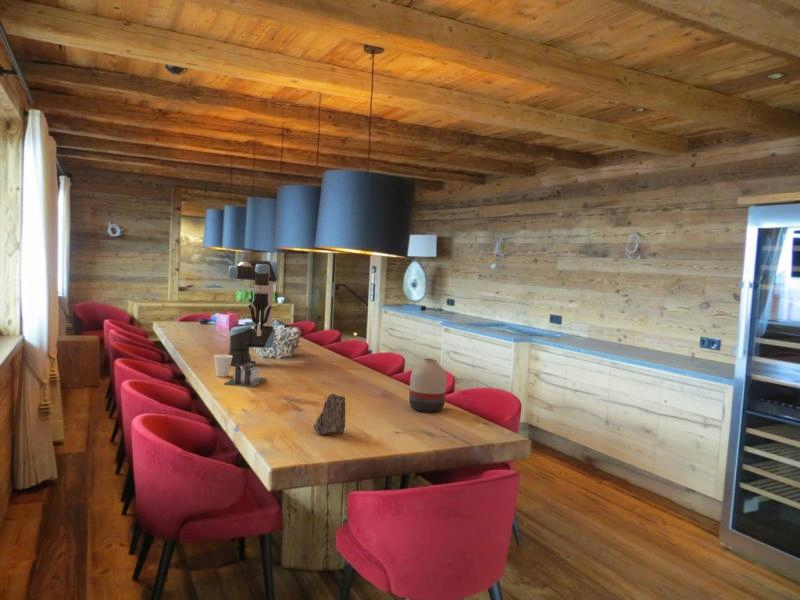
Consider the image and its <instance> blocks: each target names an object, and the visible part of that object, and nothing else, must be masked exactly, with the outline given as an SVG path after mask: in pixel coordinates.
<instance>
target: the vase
mask: <svg viewBox="0 0 800 600" xmlns="http://www.w3.org/2000/svg"><path fill="white" fill-rule="evenodd" d="M409 379H410V380H409V393H408V395H409V397H408V398H409V399H408V400H409V401H408V402H409V404H410V407H411V408H412V409H413V410H415V411H418V412H423V413H436V412H437V413H438V412H440V411H441V410H443V408H444V406H445V403H446V402H445V401H446V392H447V380H448V379H447V373H446V371H445V369H444V368H443V367H442V366H441V365H440V364H439V363H438V361H437V359H435V358H423V359H422V361H421V362H420V363H419V364H416V366H414V367H413V369H412V371H411V373H410V378H409Z"/></svg>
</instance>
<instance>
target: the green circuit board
mask: <svg viewBox="0 0 800 600" xmlns="http://www.w3.org/2000/svg"><path fill="white" fill-rule="evenodd" d="M250 363H254V365H253V366H251V367H249V365H246V366H245V370H239V367H242V366H243V365H242V366H240V365H239V364H237V365H236V366H235V367H234V369H233V370H234V371H233V377H232V379H230V380H227V381H225V382H224V383H223V385H224V386H235V385H236V387H238V386H239V387H246V386H247V387H248V388H256V387H257V385H258V386H259V385H260V384H262V383H264V382H266V381H267V380H268V378H267V377H260V366H256V365H257V363H256V360H251V361H250Z"/></svg>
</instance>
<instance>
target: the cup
mask: <svg viewBox="0 0 800 600" xmlns="http://www.w3.org/2000/svg"><path fill="white" fill-rule="evenodd" d="M232 357H233V356H231V355H228V354H215V355H213V358H214V366H215V373H216V376H217V377H219V378H227V377H229V374H230V370H231V366H232V365H231V361H232Z"/></svg>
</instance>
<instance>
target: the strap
mask: <svg viewBox="0 0 800 600" xmlns="http://www.w3.org/2000/svg"><path fill="white" fill-rule="evenodd" d="M246 365H249V367H251V366H253V365H254V363H250V362H249V363H247V364H245V365H243V366H242V367H239V370H245V366H246Z"/></svg>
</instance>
